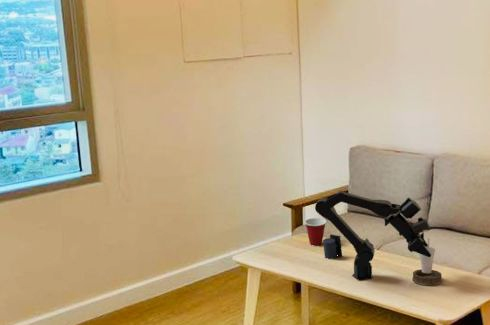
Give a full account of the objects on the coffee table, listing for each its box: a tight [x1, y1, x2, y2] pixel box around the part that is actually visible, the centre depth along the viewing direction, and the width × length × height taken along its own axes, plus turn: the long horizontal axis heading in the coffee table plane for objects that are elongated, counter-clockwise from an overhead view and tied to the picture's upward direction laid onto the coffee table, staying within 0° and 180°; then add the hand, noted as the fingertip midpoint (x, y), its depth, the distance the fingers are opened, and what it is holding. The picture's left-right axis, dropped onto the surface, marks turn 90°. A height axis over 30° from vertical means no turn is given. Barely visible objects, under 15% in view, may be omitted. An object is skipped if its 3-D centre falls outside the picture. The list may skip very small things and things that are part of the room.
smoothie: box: [419, 238, 436, 273], centre depth 254 cm, size 6×6×14 cm
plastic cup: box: [304, 217, 327, 246], centre depth 310 cm, size 11×11×12 cm
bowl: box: [412, 269, 443, 287], centre depth 255 cm, size 12×12×3 cm
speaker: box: [322, 234, 343, 260], centre depth 289 cm, size 8×6×10 cm
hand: (430, 253), depth 253 cm, fingers closed on smoothie, 6 cm apart
